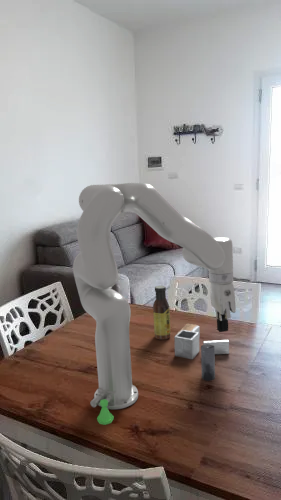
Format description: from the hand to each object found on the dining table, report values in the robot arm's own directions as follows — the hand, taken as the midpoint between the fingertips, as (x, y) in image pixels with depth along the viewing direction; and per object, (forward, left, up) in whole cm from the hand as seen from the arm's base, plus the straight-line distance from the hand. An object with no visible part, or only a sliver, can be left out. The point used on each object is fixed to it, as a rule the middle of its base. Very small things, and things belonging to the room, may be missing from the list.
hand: (222, 330), depth 131 cm
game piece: (-43, +18, -11) cm, 48 cm away
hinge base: (+6, +14, -11) cm, 19 cm away
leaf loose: (+4, +4, -10) cm, 12 cm away
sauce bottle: (+9, +27, -11) cm, 30 cm away
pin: (-12, +1, -11) cm, 16 cm away
